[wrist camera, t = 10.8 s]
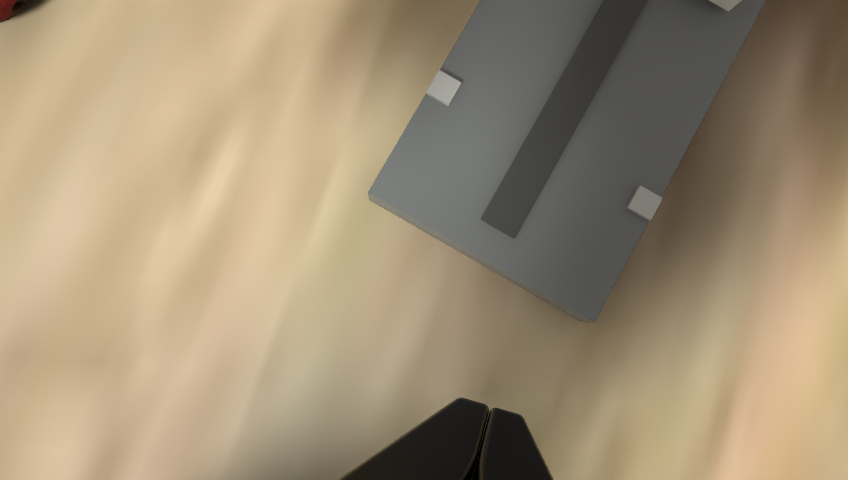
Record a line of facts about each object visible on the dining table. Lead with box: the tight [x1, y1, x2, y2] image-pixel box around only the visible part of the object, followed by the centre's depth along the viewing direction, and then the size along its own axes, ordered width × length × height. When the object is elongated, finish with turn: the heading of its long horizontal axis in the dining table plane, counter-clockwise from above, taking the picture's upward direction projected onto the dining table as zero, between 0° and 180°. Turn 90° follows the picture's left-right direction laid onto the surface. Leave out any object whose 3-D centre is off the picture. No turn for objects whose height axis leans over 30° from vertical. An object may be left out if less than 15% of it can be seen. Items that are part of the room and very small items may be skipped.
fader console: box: [368, 0, 766, 322], centre depth 22 cm, size 18×8×2 cm, turn 150°
